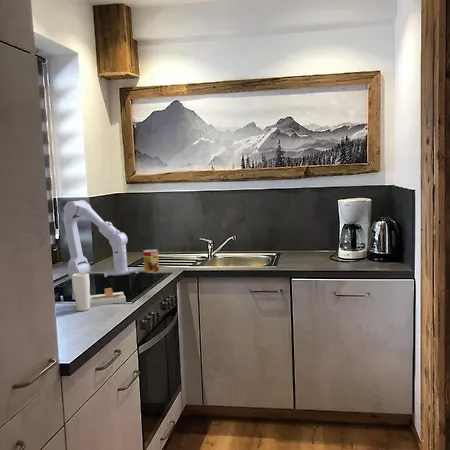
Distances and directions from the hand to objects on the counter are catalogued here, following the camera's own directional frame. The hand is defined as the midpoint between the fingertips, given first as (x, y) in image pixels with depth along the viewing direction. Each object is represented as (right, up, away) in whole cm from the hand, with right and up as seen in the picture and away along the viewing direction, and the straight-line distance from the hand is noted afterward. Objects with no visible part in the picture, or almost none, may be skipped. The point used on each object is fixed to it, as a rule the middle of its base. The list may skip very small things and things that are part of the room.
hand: (122, 291), depth 237 cm
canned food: (+5, +3, +58) cm, 59 cm away
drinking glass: (-13, -6, -14) cm, 21 cm away
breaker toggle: (-6, -2, -2) cm, 6 cm away
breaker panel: (-7, -4, -2) cm, 8 cm away
